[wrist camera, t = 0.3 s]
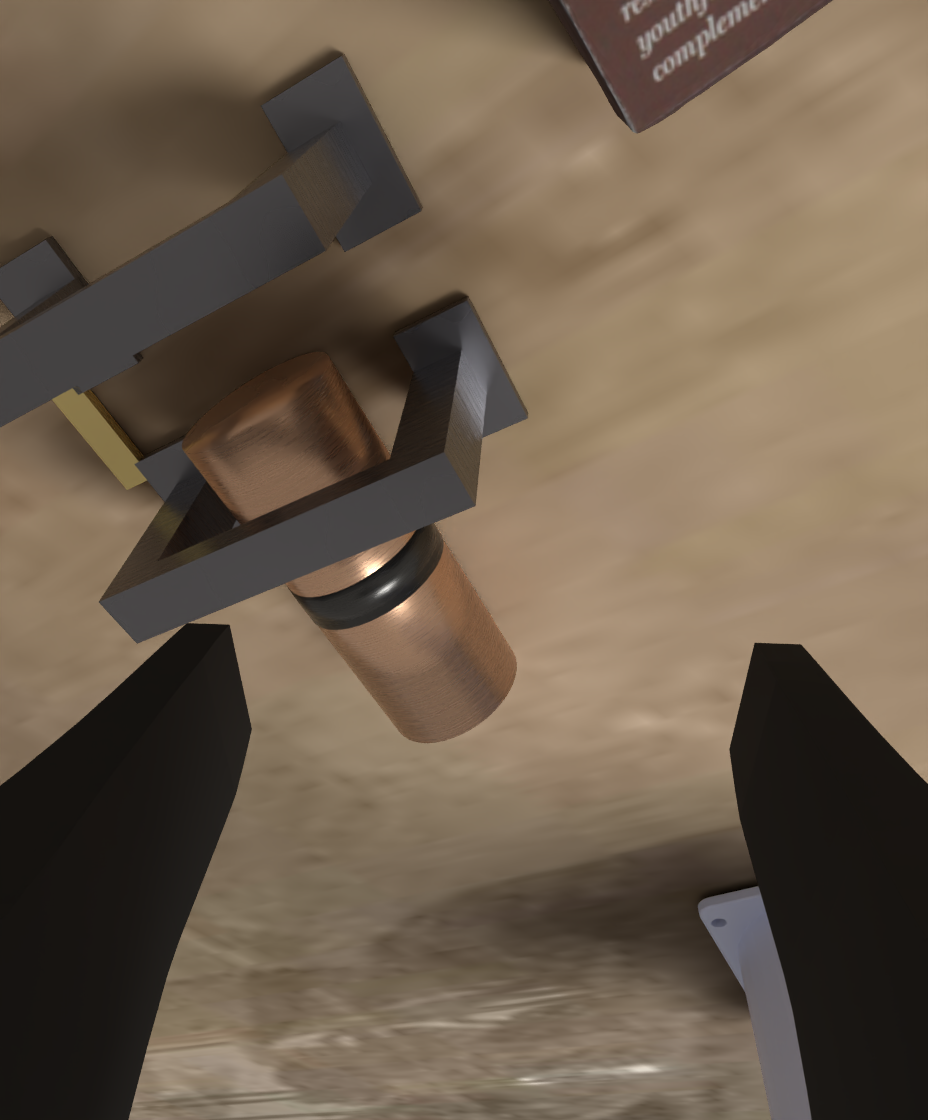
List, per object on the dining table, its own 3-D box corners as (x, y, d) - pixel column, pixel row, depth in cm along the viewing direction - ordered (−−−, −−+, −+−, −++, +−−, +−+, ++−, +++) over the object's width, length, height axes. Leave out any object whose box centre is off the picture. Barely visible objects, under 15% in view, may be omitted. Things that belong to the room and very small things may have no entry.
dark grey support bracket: (527, 412, 20) (526, 531, 16) (212, 549, 23) (142, 681, 19) (468, 295, 18) (450, 395, 14) (138, 458, 21) (45, 579, 17)
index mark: (156, 471, 21) (152, 478, 21) (131, 484, 22) (127, 490, 21) (74, 369, 20) (68, 374, 20) (48, 383, 20) (42, 388, 20)
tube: (521, 622, 23) (512, 723, 20) (406, 658, 25) (381, 757, 22) (346, 331, 19) (302, 407, 16) (216, 394, 20) (154, 475, 17)
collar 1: (422, 206, 17) (389, 286, 13) (83, 389, 20) (-29, 501, 16) (344, 54, 16) (281, 90, 12) (-10, 273, 19) (-160, 364, 15)
